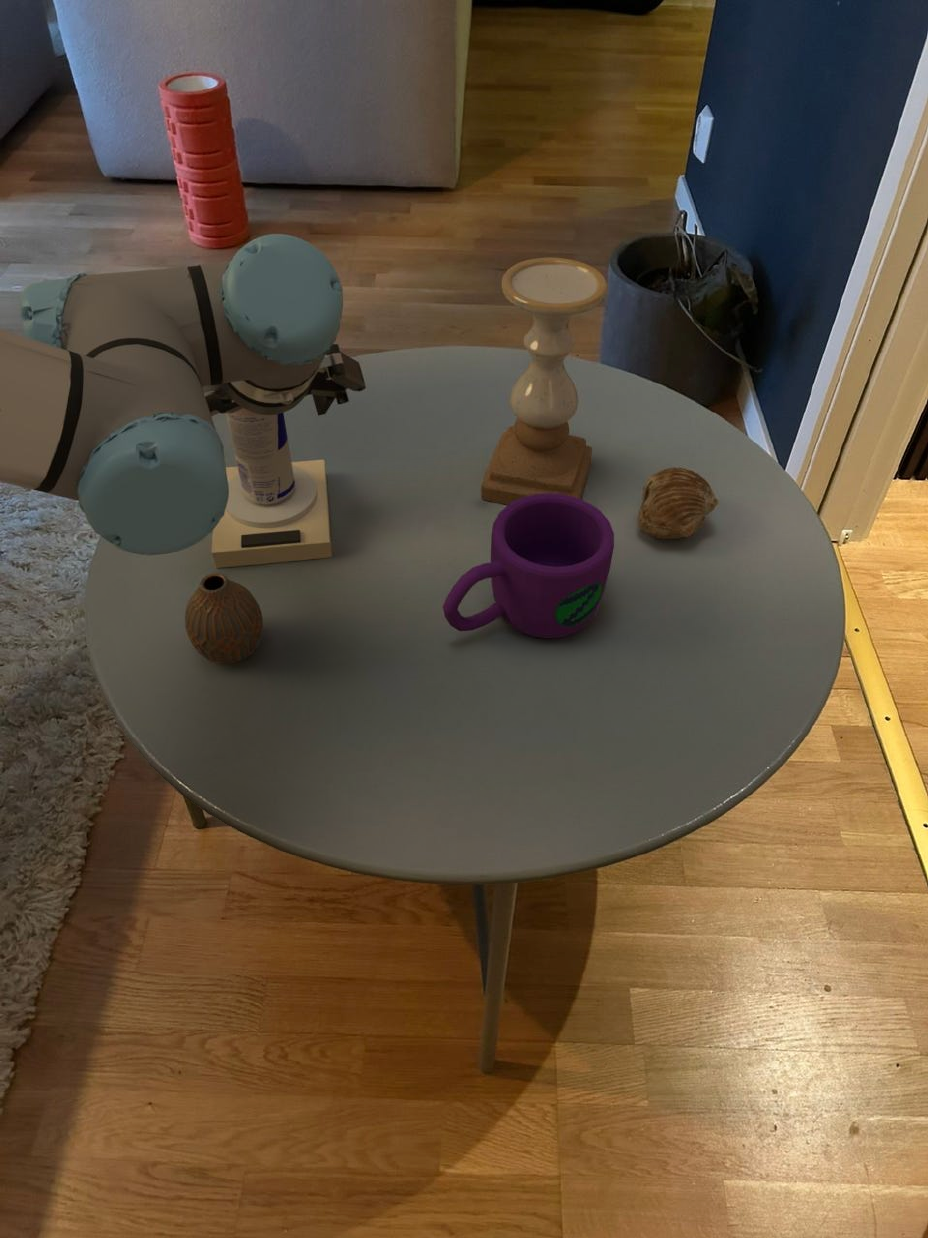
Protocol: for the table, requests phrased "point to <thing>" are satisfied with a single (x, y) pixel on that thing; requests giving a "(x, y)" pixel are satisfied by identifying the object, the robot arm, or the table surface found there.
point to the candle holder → (544, 384)
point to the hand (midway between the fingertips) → (252, 416)
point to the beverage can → (262, 455)
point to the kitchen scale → (275, 522)
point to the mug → (541, 567)
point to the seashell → (675, 503)
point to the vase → (223, 620)
